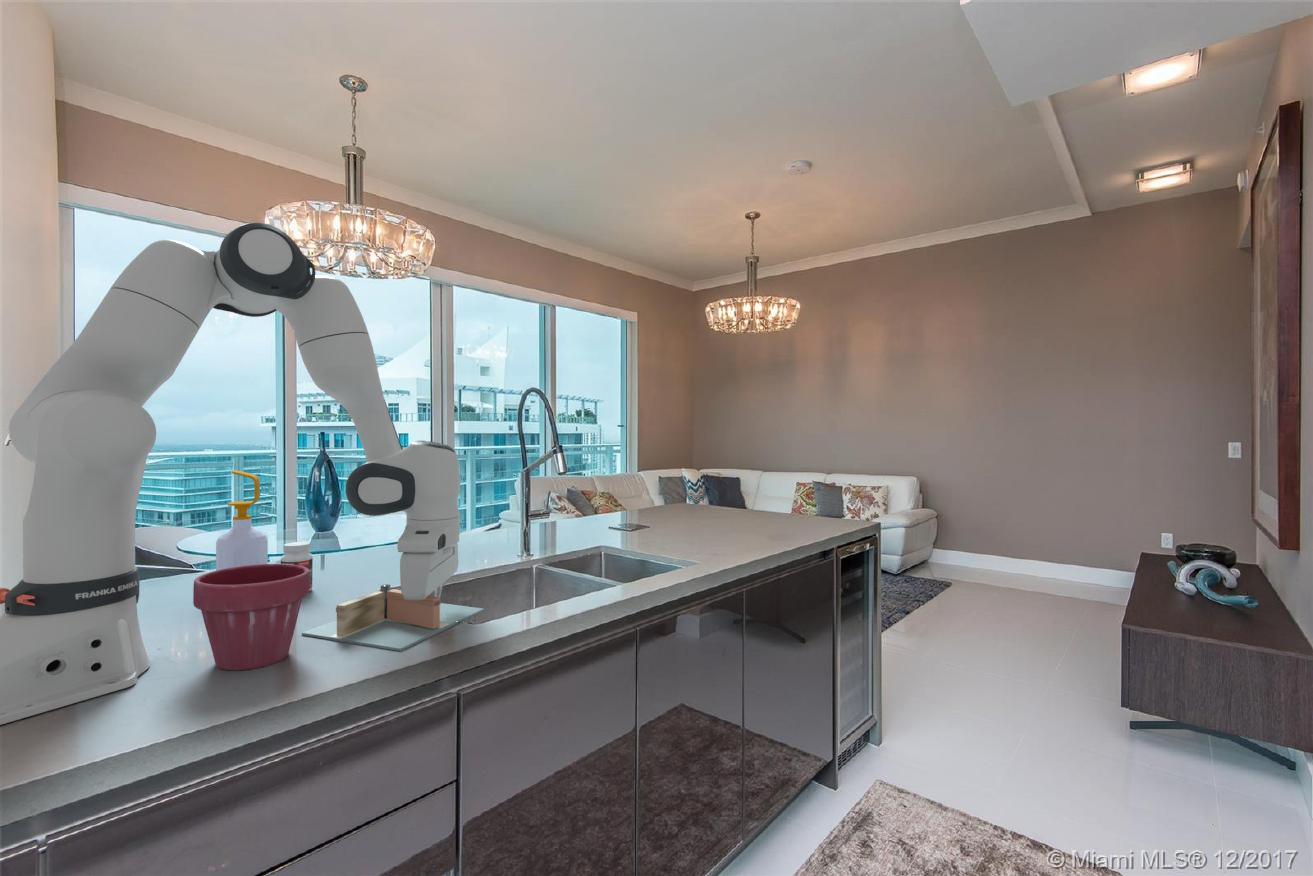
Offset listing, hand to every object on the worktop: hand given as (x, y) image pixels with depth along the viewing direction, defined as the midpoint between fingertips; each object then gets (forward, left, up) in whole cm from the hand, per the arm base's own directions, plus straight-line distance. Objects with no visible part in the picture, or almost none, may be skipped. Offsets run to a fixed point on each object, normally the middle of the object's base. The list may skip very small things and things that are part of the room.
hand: (432, 610), depth 108 cm
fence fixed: (-8, +8, -2) cm, 11 cm away
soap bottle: (+5, +52, -2) cm, 53 cm away
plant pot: (-23, +13, -2) cm, 27 cm away
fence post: (-2, +8, -2) cm, 9 cm away
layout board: (-2, +5, -2) cm, 6 cm away
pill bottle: (+6, +38, -2) cm, 39 cm away
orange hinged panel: (-3, +2, -2) cm, 4 cm away
